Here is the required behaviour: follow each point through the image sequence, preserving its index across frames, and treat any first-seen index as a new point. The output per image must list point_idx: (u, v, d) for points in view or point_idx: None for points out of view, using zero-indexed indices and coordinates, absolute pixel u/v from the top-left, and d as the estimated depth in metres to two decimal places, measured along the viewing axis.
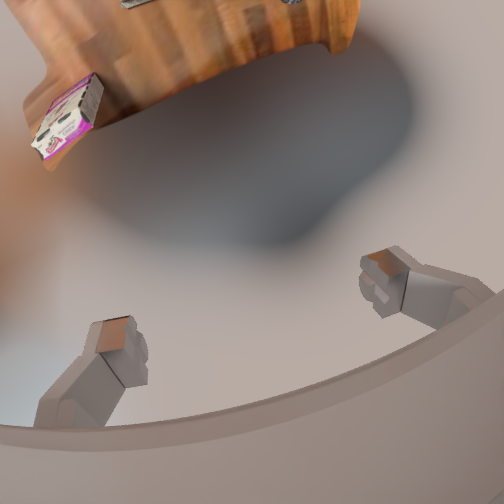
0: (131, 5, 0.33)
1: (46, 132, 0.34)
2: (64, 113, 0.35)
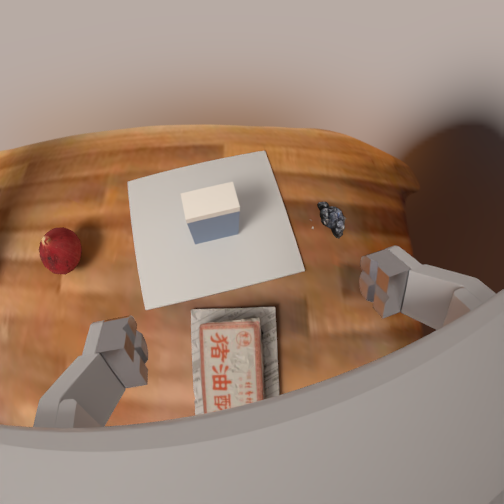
0: None
1: None
2: None
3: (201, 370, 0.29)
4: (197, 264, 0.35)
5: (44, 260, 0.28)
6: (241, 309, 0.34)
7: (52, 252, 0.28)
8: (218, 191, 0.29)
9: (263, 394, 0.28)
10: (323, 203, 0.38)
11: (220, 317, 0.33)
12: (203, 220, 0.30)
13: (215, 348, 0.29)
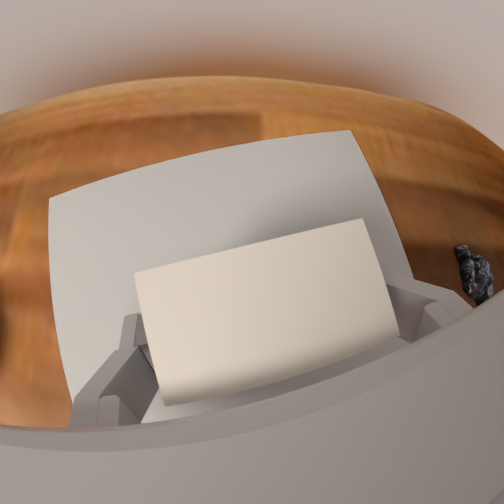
0: None
1: None
2: None
3: None
4: None
5: None
6: None
7: None
8: (310, 264, 0.06)
9: None
10: (467, 250, 0.15)
11: None
12: None
13: None
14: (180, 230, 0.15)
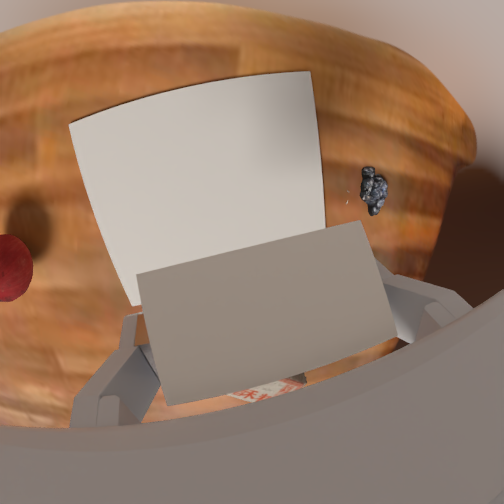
0: None
1: None
2: None
3: None
4: (193, 253, 0.26)
5: None
6: None
7: (1, 297, 0.17)
8: (309, 266, 0.07)
9: None
10: (370, 173, 0.26)
11: None
12: None
13: None
14: (175, 146, 0.21)
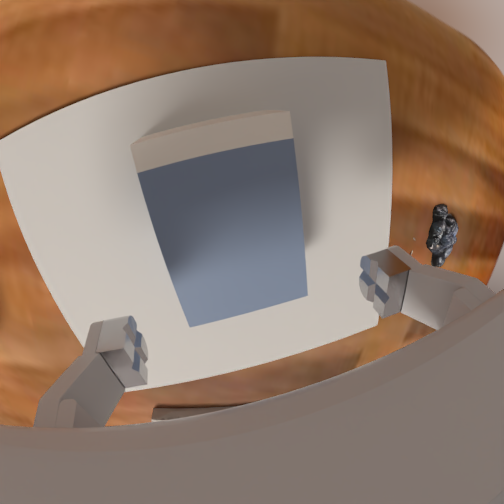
0: None
1: None
2: None
3: None
4: (199, 337, 0.17)
5: None
6: None
7: None
8: (231, 116, 0.11)
9: None
10: (444, 214, 0.17)
11: None
12: (187, 166, 0.09)
13: None
14: None
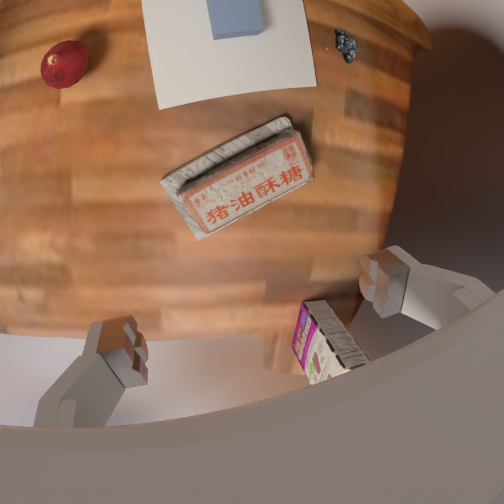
0: (276, 121, 0.34)
1: None
2: None
3: (243, 214, 0.36)
4: (215, 66, 0.29)
5: (48, 79, 0.21)
6: (176, 205, 0.36)
7: (60, 69, 0.20)
8: None
9: (241, 160, 0.32)
10: (341, 31, 0.29)
11: (191, 217, 0.37)
12: None
13: (220, 216, 0.35)
14: None
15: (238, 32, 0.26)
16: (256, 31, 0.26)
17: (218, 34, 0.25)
